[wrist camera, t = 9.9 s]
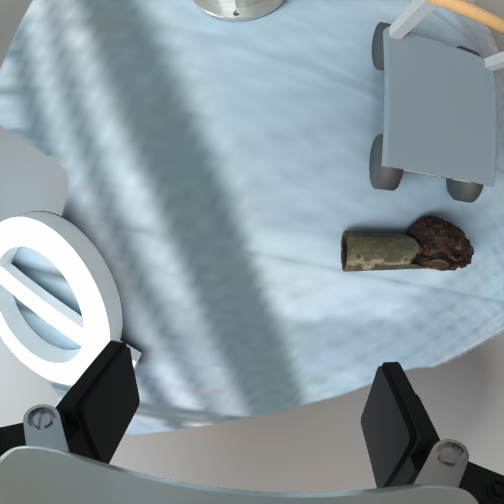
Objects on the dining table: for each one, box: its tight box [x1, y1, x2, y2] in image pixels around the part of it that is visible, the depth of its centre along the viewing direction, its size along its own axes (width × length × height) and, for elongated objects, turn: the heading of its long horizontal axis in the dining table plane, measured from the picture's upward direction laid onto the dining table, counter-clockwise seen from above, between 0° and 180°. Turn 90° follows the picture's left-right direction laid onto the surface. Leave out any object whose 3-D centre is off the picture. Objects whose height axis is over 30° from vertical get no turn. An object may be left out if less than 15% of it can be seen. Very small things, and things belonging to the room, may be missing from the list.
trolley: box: [369, 0, 504, 203], centre depth 24 cm, size 20×14×18 cm
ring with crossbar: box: [0, 211, 142, 385], centre depth 42 cm, size 28×28×5 cm
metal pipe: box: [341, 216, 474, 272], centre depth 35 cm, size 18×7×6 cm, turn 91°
